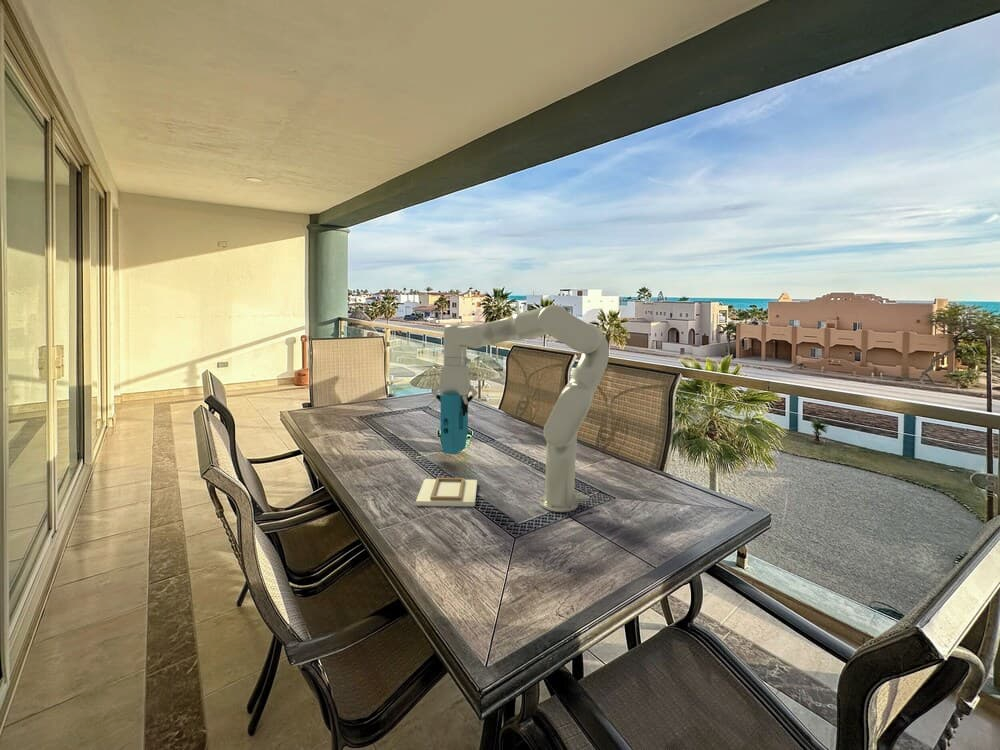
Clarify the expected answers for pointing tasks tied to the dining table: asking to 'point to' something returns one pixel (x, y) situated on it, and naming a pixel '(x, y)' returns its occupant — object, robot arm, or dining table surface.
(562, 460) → the robot arm
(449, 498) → the base board
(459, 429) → the block
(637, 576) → the dining table surface
